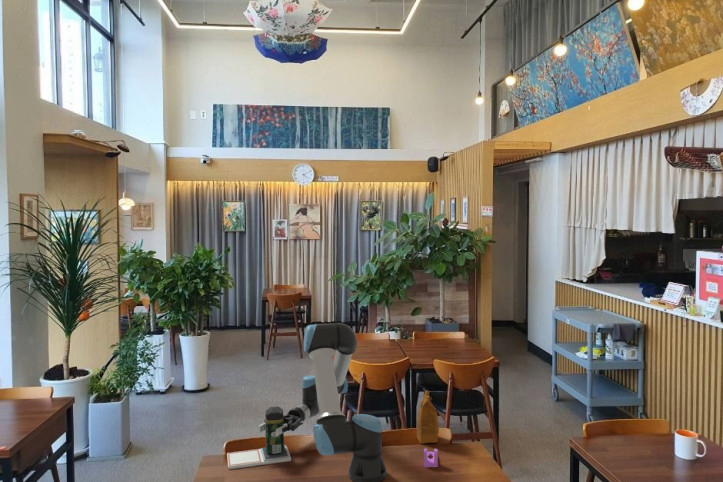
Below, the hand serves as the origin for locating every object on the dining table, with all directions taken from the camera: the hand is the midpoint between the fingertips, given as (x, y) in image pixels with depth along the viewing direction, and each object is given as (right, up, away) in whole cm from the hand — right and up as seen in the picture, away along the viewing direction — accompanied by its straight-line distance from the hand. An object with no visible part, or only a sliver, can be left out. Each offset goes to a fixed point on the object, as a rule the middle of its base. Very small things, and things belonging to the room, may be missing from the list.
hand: (267, 430), depth 216 cm
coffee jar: (+2, -11, +4) cm, 12 cm away
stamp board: (-4, -13, +2) cm, 13 cm away
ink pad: (+2, -11, +4) cm, 12 cm away
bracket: (+70, -12, -2) cm, 71 cm away
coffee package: (+71, -12, +21) cm, 75 cm away
